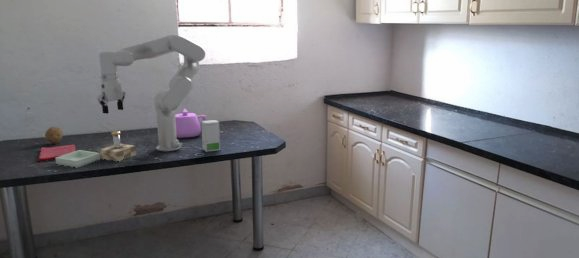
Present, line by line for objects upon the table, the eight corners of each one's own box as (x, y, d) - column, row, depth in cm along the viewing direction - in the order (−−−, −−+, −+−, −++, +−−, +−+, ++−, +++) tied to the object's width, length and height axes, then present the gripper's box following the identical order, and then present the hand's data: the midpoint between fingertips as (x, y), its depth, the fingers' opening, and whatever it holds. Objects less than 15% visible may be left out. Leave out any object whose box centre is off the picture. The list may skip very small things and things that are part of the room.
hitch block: (136, 154, 225) (135, 145, 224) (118, 161, 214) (117, 152, 213) (118, 152, 230) (117, 143, 228) (100, 158, 219) (99, 149, 218)
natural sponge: (62, 145, 244) (59, 128, 241) (44, 147, 241) (42, 129, 239) (65, 141, 252) (62, 124, 250) (48, 142, 250) (45, 125, 247)
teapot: (208, 137, 257) (206, 112, 254) (171, 140, 253) (169, 114, 249) (206, 128, 279) (205, 105, 275) (172, 130, 275) (171, 107, 271)
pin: (124, 156, 223) (122, 131, 220) (118, 158, 219) (115, 133, 216) (118, 155, 225) (115, 130, 222) (112, 157, 221) (109, 132, 218)
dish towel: (37, 163, 214) (36, 158, 214) (40, 151, 235) (39, 146, 234) (75, 158, 221) (75, 153, 221) (75, 147, 242) (74, 142, 241)
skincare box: (205, 152, 229) (204, 123, 225) (202, 149, 234) (200, 121, 231) (220, 150, 233) (219, 121, 229) (217, 147, 238) (215, 119, 234)
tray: (100, 159, 218) (99, 153, 217) (77, 168, 205) (76, 161, 204) (80, 156, 223) (79, 150, 222) (56, 164, 211) (55, 157, 210)
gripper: (101, 79, 203) (105, 115, 207) (128, 75, 218) (131, 108, 222) (89, 78, 206) (93, 114, 210) (117, 74, 221) (120, 107, 225)
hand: (113, 111), depth 216 cm, fingers open, 9 cm apart
